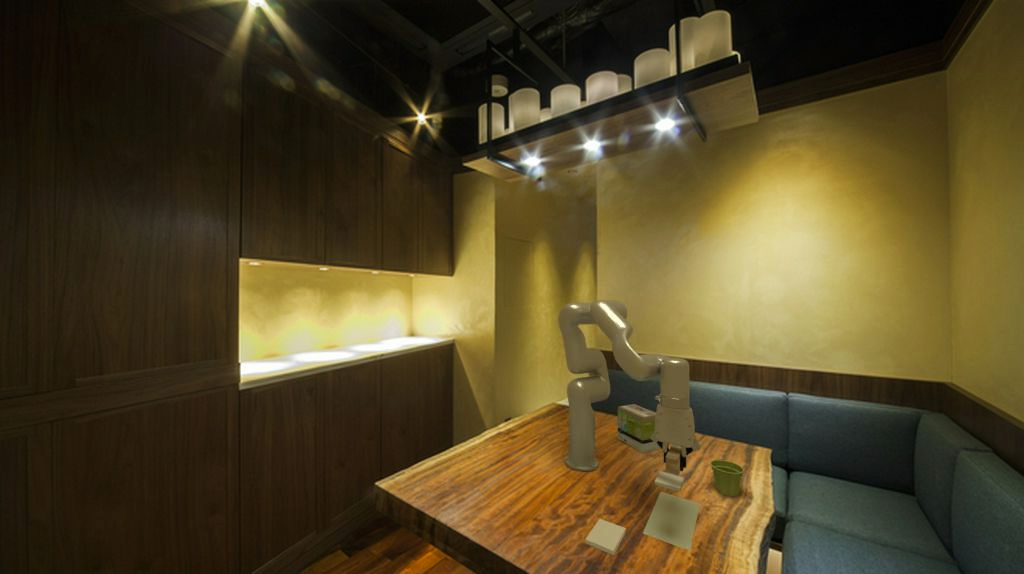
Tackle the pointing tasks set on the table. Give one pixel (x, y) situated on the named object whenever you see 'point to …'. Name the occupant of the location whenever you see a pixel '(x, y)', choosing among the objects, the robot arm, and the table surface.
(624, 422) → the tea box
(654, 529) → the board
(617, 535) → the tile
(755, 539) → the table surface
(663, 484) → the turner
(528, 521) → the table surface
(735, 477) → the plant pot
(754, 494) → the table surface
